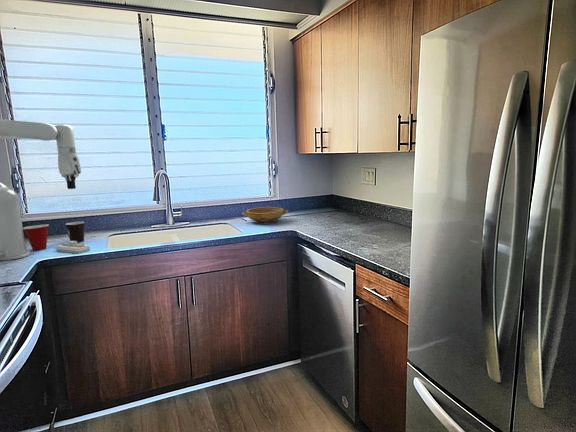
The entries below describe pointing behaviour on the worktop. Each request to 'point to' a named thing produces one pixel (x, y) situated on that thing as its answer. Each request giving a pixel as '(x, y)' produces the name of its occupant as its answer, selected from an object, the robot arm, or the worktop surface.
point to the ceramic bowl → (265, 214)
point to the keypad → (73, 249)
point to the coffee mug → (75, 231)
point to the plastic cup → (37, 236)
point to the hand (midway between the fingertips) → (71, 188)
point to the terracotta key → (79, 245)
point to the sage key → (72, 243)
